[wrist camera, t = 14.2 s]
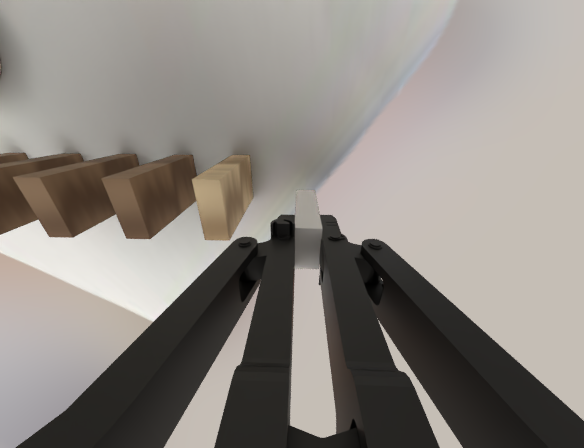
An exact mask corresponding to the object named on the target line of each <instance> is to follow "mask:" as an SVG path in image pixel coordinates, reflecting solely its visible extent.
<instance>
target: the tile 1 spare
mask: <svg viewBox="0 0 584 448" xmlns="http://www.w3.org/2000/svg"><path fill="white" fill-rule="evenodd" d="M192 183H193V187H194V192H195V197H196V201H197V206H198V210H199V215H200V219H201V224H202V228H203V233H204V238H205V240H230V239H231V237H232V235H233V233H234V231H235V230H236V228H237V226H238V224H239V222H240V221H241V219H242V217H243V215H244V213H245V212H246V210H247V208H248V206H249V204H250V203H251V201H252V199H253V187H252V176H251V164H250V155H231V156H230V157H228V158H226V159H225V160H223V161H221V162H220V163H218V164H216V165H215V166H213V167H211V168H210V169H208V170H206V171H205V172H203V173H201V174H200V175H198V176H196V177H195V178H193V179H192Z"/></svg>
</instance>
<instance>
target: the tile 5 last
mask: <svg viewBox="0 0 584 448" xmlns="http://www.w3.org/2000/svg"><path fill="white" fill-rule="evenodd" d="M27 159H28V157H27V155H26V154H25V153H4V154H0V164H3V163H9V162H15V161H21V160H27Z"/></svg>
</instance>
